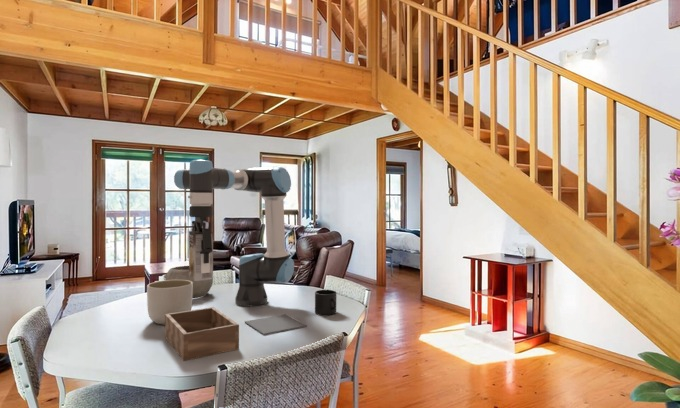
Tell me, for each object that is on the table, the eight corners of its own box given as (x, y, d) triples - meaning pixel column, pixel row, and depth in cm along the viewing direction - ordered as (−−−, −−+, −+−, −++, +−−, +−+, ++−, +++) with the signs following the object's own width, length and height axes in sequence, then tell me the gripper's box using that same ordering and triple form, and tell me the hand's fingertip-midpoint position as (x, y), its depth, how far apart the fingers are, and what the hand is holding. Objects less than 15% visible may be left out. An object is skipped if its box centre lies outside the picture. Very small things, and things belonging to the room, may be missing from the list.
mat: (244, 322, 159) (244, 321, 159) (285, 315, 169) (285, 314, 169) (263, 335, 144) (263, 333, 144) (306, 326, 154) (306, 325, 154)
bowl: (202, 289, 220) (202, 262, 220) (220, 296, 203) (221, 267, 203) (158, 295, 204) (158, 266, 204) (175, 304, 187) (175, 272, 187)
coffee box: (188, 276, 139) (188, 230, 138) (206, 274, 142) (206, 230, 142) (194, 281, 131) (194, 232, 131) (214, 279, 134) (214, 232, 134)
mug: (326, 318, 166) (326, 296, 166) (310, 311, 175) (310, 291, 175) (344, 314, 171) (344, 293, 171) (328, 308, 181) (328, 288, 181)
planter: (136, 324, 155) (136, 286, 155) (169, 313, 171) (169, 278, 171) (171, 330, 150) (171, 289, 149) (201, 317, 165) (201, 281, 165)
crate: (164, 336, 142) (165, 314, 142) (213, 327, 152) (213, 307, 152) (183, 360, 121) (183, 334, 121) (238, 348, 131) (239, 324, 131)
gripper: (181, 205, 143) (181, 267, 143) (199, 205, 125) (199, 277, 125) (202, 204, 147) (202, 265, 148) (222, 205, 130) (222, 274, 130)
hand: (201, 270), depth 136 cm, fingers closed on coffee box, 9 cm apart
